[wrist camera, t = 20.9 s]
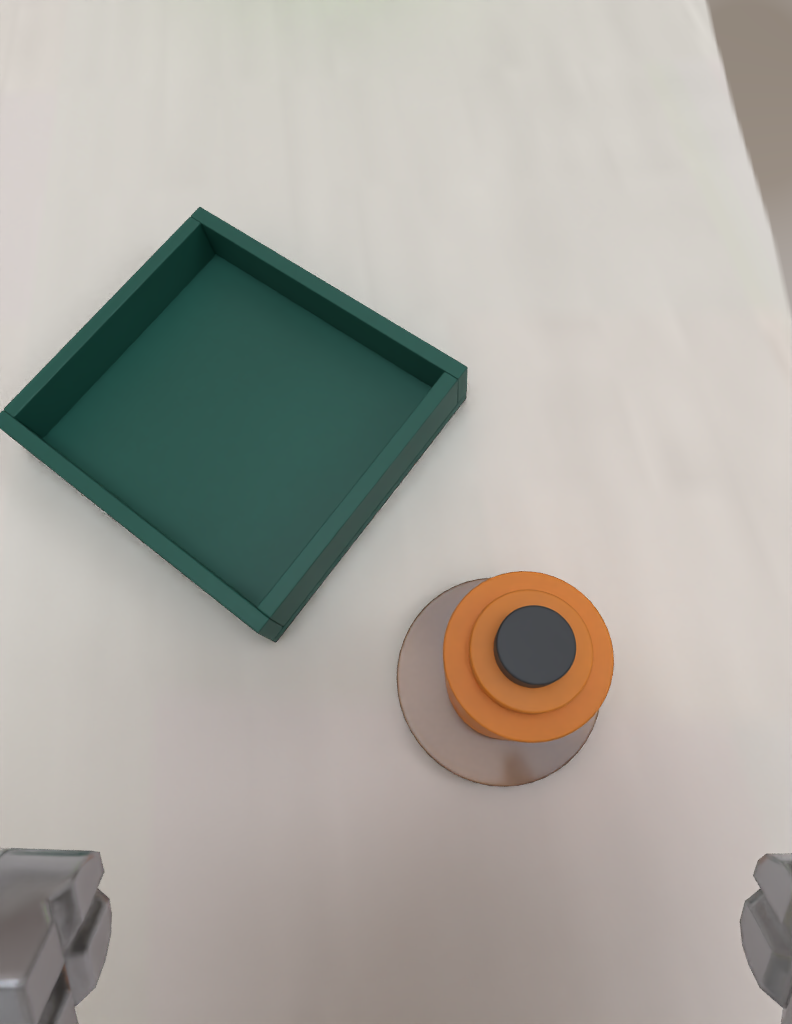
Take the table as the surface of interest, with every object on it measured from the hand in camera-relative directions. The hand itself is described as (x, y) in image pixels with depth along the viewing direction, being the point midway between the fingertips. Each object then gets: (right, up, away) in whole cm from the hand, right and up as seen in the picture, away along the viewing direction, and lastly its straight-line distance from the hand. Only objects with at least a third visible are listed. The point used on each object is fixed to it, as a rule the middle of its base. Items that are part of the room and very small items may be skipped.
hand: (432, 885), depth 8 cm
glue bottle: (+4, -3, +21) cm, 22 cm away
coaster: (+4, -3, +22) cm, 22 cm away
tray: (-8, +9, +27) cm, 30 cm away
